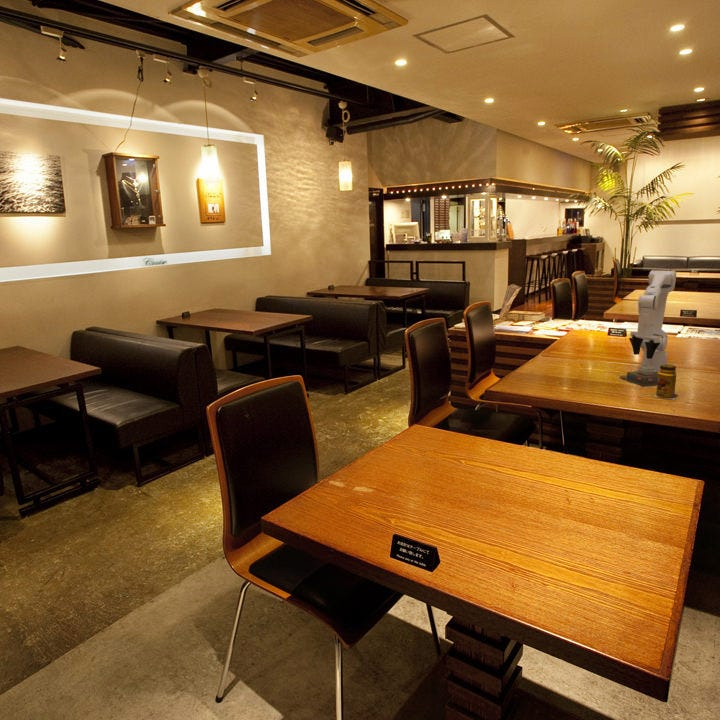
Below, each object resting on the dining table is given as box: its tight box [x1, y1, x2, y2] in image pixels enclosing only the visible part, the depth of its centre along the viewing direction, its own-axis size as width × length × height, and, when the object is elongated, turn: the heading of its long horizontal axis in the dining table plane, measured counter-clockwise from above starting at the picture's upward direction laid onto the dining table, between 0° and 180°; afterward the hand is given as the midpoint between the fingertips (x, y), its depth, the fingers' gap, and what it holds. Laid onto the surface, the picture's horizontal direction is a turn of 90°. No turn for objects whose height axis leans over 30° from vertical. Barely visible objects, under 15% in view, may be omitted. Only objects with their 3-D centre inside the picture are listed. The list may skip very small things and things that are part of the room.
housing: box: [619, 370, 659, 388], centre depth 228 cm, size 14×14×3 cm
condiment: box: [652, 364, 680, 400], centre depth 207 cm, size 7×8×12 cm
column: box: [637, 364, 655, 376], centre depth 227 cm, size 4×4×6 cm
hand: (642, 356), depth 227 cm, fingers open, 7 cm apart
